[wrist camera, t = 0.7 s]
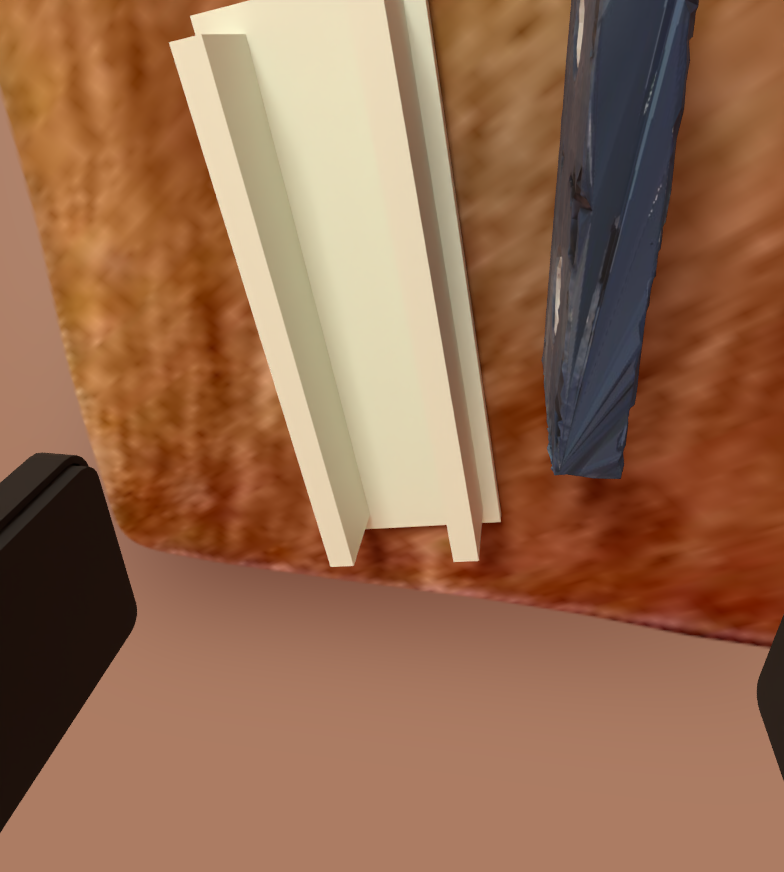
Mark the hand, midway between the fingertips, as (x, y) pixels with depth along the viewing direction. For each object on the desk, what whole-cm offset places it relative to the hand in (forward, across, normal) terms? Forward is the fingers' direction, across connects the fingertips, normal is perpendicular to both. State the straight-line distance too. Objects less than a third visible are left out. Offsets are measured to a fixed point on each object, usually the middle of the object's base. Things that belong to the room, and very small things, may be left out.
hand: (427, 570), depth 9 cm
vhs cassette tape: (+23, -4, -2) cm, 23 cm away
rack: (+23, +5, +5) cm, 24 cm away
